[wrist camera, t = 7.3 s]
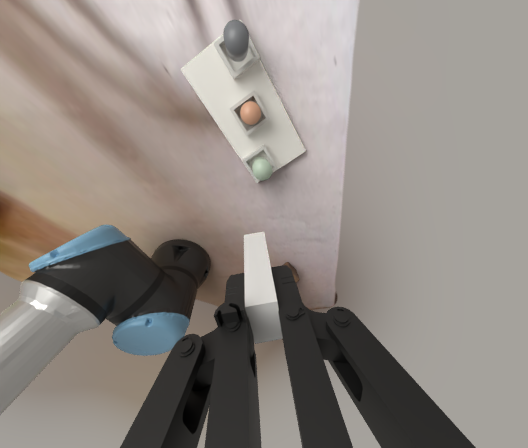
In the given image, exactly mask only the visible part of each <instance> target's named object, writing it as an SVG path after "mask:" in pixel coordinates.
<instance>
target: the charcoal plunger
mask: <svg viewBox="0 0 528 448" xmlns="http://www.w3.org/2000/svg"><path fill="white" fill-rule="evenodd" d="M223 36H224V42H225V46H226V51H227V54H228V56H229V57H230V58H231V59H232V60H233V61H235V62H240V61H243V60H244V59H245V58H246V56H247V54H248V45H249V33H248V30H247V28H246V26H245V25H244V24H243V23H242V22H241V21H239V20H232V21H230V22H228V23H227V25H226V26H225V28H224V34H223Z"/></svg>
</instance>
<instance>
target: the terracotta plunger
mask: <svg viewBox="0 0 528 448" xmlns="http://www.w3.org/2000/svg"><path fill="white" fill-rule="evenodd" d="M240 114H241V118H242V120H243V121H244V122H245V123H246V124H249V125H253V124H256V123H257V122H258V121H259V119H260V117H261V110H260V107H259V106H258V105H257V104H256V103H255V102H252V101H249V102H246V103H245V104H243V106H242V107H241V111H240Z"/></svg>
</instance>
